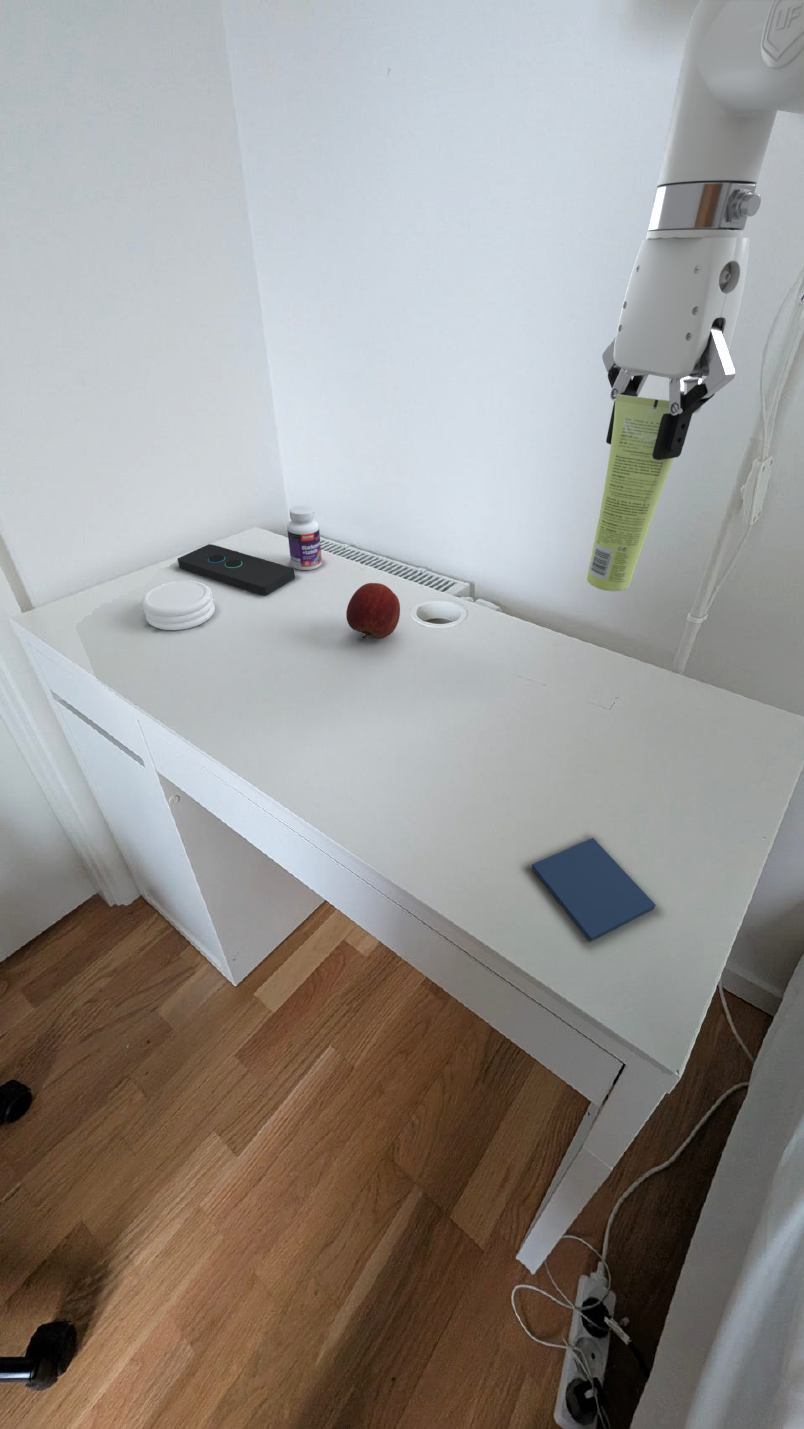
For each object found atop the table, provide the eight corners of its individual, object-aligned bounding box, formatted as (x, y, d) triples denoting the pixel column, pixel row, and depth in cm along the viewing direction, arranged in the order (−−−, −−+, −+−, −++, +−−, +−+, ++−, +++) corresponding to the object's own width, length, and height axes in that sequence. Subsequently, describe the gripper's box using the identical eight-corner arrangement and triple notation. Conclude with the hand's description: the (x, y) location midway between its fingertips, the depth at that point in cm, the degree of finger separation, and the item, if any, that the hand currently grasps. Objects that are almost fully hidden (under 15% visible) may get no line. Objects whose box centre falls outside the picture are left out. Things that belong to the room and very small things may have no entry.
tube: (620, 572, 71) (667, 392, 58) (643, 590, 67) (697, 402, 55) (578, 576, 70) (616, 394, 57) (598, 595, 66) (644, 404, 54)
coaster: (225, 602, 91) (221, 581, 89) (199, 634, 83) (193, 613, 81) (165, 597, 92) (160, 576, 90) (134, 628, 85) (127, 607, 82)
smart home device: (210, 542, 105) (296, 567, 97) (212, 551, 106) (297, 577, 98) (174, 558, 99) (262, 586, 91) (176, 568, 100) (264, 596, 92)
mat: (654, 908, 49) (656, 905, 49) (589, 942, 47) (591, 938, 47) (591, 841, 55) (593, 837, 55) (531, 868, 52) (532, 864, 52)
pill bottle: (306, 574, 99) (300, 517, 93) (285, 565, 102) (278, 510, 96) (328, 563, 102) (324, 508, 96) (307, 555, 105) (302, 501, 99)
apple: (411, 638, 83) (412, 587, 78) (366, 655, 79) (364, 603, 74) (381, 617, 88) (380, 568, 83) (337, 633, 84) (334, 582, 79)
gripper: (826, 212, 43) (738, 467, 54) (654, 222, 55) (611, 429, 66) (756, 209, 40) (679, 477, 52) (592, 220, 53) (558, 435, 64)
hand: (641, 448), depth 59 cm, fingers closed on tube, 5 cm apart
